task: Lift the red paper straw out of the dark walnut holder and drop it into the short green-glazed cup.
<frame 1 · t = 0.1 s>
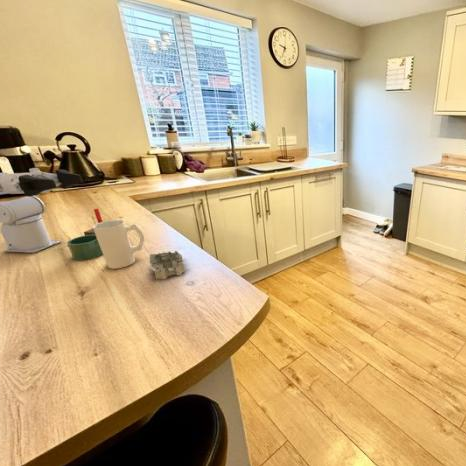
hand: (68, 181, 81), 22 cm above the counter, tool horizontal, fingers open, 7 cm apart
mug: (129, 262, 83), on the counter
cup: (89, 254, 86), on the counter
straw holder: (105, 236, 99), on the counter
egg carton: (168, 270, 79), on the counter
straw: (100, 223, 97), in the straw holder
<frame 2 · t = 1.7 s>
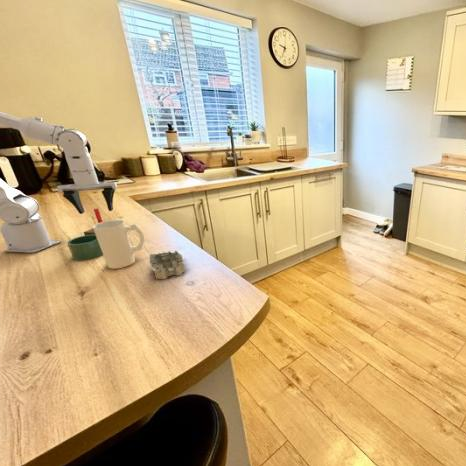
hand: (96, 211, 95), 9 cm above the counter, tool pointing down, fingers open, 7 cm apart
nothing on the counter moved.
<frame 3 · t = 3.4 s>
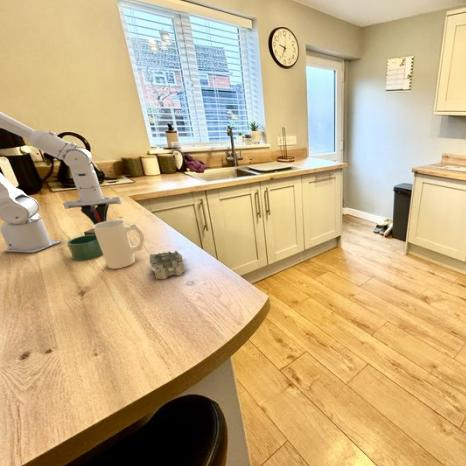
hand: (101, 226, 97), 4 cm above the counter, tool pointing down, fingers closed on straw, 1 cm apart
straw: (100, 223, 97), in the straw holder, touching gripper
everything else where it was.
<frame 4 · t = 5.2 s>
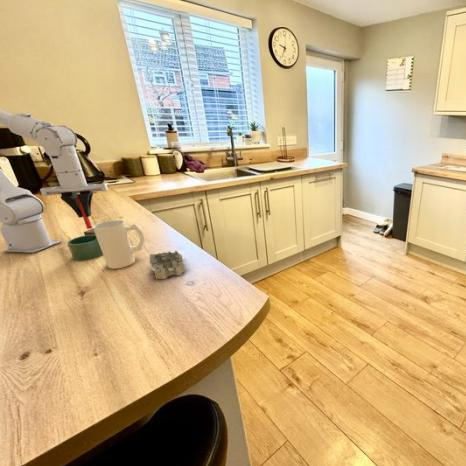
hand: (85, 216, 87), 10 cm above the counter, tool pointing down, fingers closed on straw, 1 cm apart
straw: (84, 212, 87), point 12 cm above the counter, touching gripper
everything else where it was.
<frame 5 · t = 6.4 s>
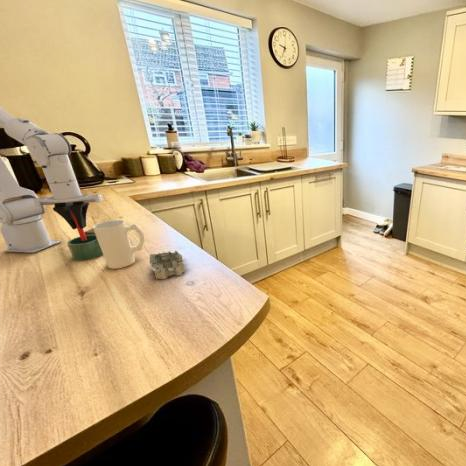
hand: (79, 227, 83), 9 cm above the counter, tool pointing down, fingers closed on straw, 1 cm apart
straw: (78, 224, 83), point 10 cm above the counter, touching gripper
everything else where it was.
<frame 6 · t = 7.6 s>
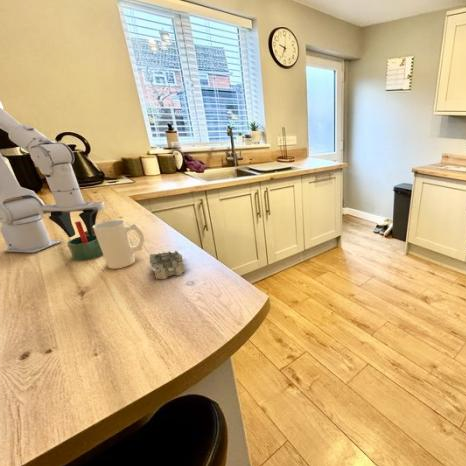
hand: (82, 235, 84), 6 cm above the counter, tool pointing down, fingers open, 4 cm apart
straw: (83, 237, 84), in the cup
everything else where it was.
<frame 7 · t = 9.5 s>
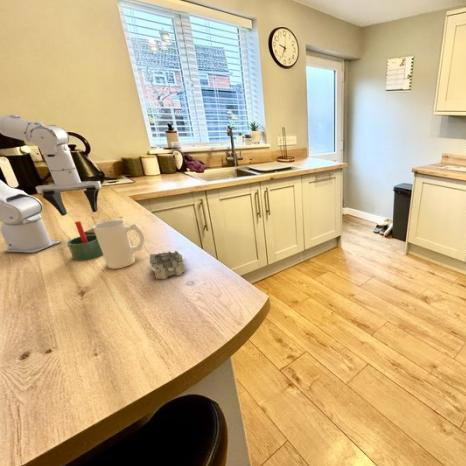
hand: (80, 212, 90), 10 cm above the counter, tool pointing down, fingers open, 7 cm apart
nothing on the counter moved.
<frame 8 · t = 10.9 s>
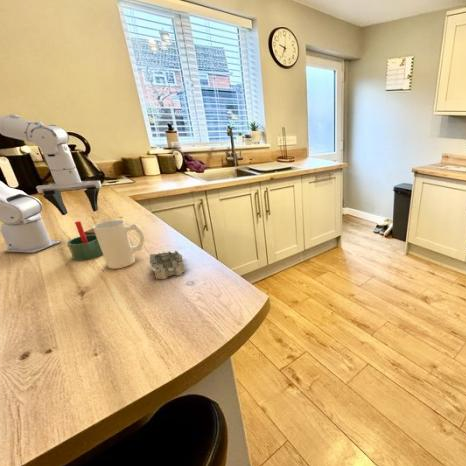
hand: (80, 212, 90), 10 cm above the counter, tool pointing down, fingers open, 7 cm apart
nothing on the counter moved.
at the end: straw 0.0 cm off-centre in the cup, point 5.5 cm above the cup's base; the gripper is holding nothing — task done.
